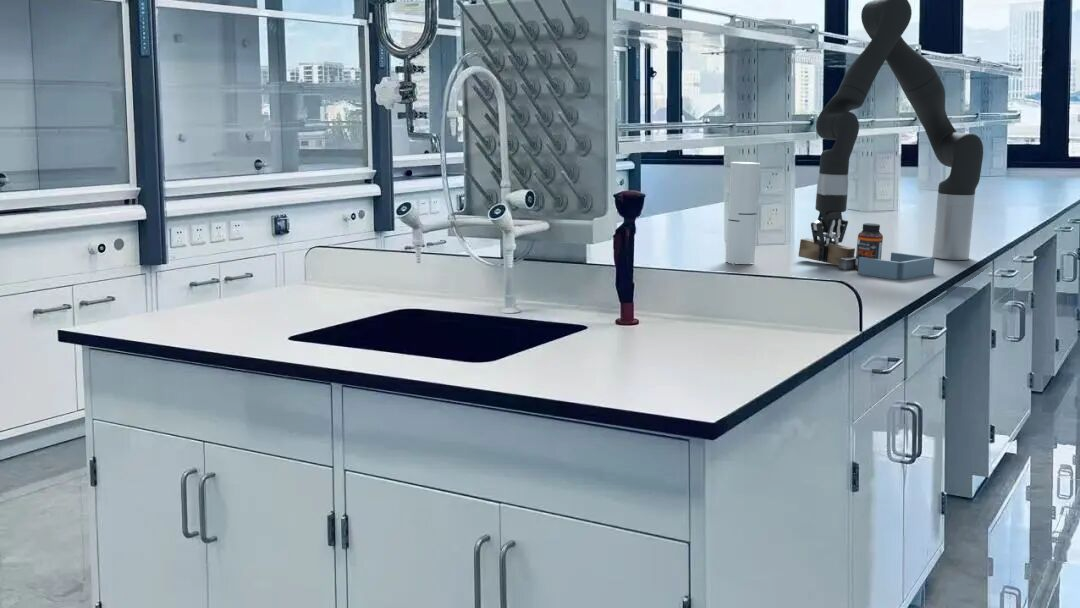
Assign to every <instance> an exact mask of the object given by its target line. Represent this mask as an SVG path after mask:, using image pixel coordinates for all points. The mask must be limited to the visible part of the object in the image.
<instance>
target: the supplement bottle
mask: <svg viewBox="0 0 1080 608" xmlns="http://www.w3.org/2000/svg"><path fill="white" fill-rule="evenodd" d="M880 226H881V224H877V223H869V222H868V223H865V222H864V223H862V230H861V231H860V232H858V234H857V241H856V253H855V256H856V263H855V268H854V269H856V270H858V268H859V257H865V258H872V259H880V260H882V250H883V238H884V236H883V234H882V233H881V232H880V230H881V229H880Z"/></svg>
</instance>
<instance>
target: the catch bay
mask: <svg viewBox="0 0 1080 608" xmlns="http://www.w3.org/2000/svg"><path fill="white" fill-rule="evenodd" d="M935 259H936V258H935V257H932V256H926V255H918V254H912V253H911V254H910V253H902V252H895V251H893V252H890V259H889V260H886V259H881V260H880V259H872V258H865V257H859V268H858V269H857V270H858V271H857V275H862V276H863V275H864V276H870V277H875V278H876V277H877V278H884V279H890V280H897V281H903V280H908V279H914V278H919V277H924V276H929V275H934V273H935V271H934V270H935Z"/></svg>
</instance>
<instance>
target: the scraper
mask: <svg viewBox="0 0 1080 608" xmlns="http://www.w3.org/2000/svg"><path fill="white" fill-rule="evenodd" d="M855 251H856V248H855V247H850V246H845V245H840V244H838V245H836V244H832V243H829V245H828V258H827V261H826V262H823V261H819V260H818V258H819V257H818V256H819V246H818V244H814V240H813V238H812V239H811V238H807V237H806V238H801V239H800V242H799V249H798V257H800V258H804V259H808V260H812V261H813V260H814V261H816V262H821V263H826V264H830V265H835V266H838V267H837V268H838V269H839V270H844V271H847V270H853V269H856V268H855V263H856V255H855Z"/></svg>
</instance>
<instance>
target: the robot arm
mask: <svg viewBox="0 0 1080 608" xmlns="http://www.w3.org/2000/svg"><path fill="white" fill-rule="evenodd" d="M912 11H913V10H912V6H911V4H910V2H909V0H869V1H868V2H867V3H865V4H864V6H863V7H862V9H861V13H860V15H861V24H862V27H863V29H864V30H865V33H867V35H868V37H869V38H870V39H871V40H870V41H869V43H868V44H867V46H866V47H865V48H864V50H862V52H861V53H859V55H858V57H857V58H856V59H854V61H853V62H852V64H851V65H850V66H849V68H848V69H847V70H846V72H845V73H844V76H843V79H842V81H841V82H840V84H839V88H838V90H837V91H836V93H835V94H834V95H833V96H832V98H830V100H828V102H827V104H826V105H825V106H824V108H822V110H821V111H820V113H819V115H818V116H817V120H816V124H815V129H816V133H817V134H818V136H819V138H821V139H824V140H829V141H831V140H832V141H835V142H834V144H833V146H832V148H830V149H825V150H823V151H822V152H821V154H820V157H819V158H820V159H819V170H818V171H819V173H818V179H817V183H816V185H817V186H816V193H815V194H816V196H815V210H816V211H818V212H819V213H818V217H817V220H816V221H815V222H811V223H810V229H811V234H812V240H814V244H818V246H819V256H818V257H819V258H818V260H819V261H818V262H821V261H823V262H822V263H825V262H826V261H827V258H828V245H829V243H832V244H836V245H839V244H840V243H841V244H842V242H843V240H844V237H845V234H846V230H847V229H848V224H849V221H848V220H845V219H843V215H842V213H844V212H846V211H847V207H848V206H847V205H848V192H849V170H850V169H849V168H850V167H849V166H850V158H851V154H852V152H853V150H854V146H855V143H856V141H857V138H858V135H859V131H860V122H859V119H858V117H857V116H856V114H855V113H854V112H850V111H854V110H856V109H857V110H858V109H859V108H861V107H862V106H863V105H864V103H865V101H866V98H867V96H868V94H869V93H870V92H869V91H871V88H872V85H873V84H874V81H875V80H876V78H877V76H878V73H879V71H880V69H881V68H882V66H883V65H884V63H885V62H886V63H887V64H888V66H889V68H890V69H891V71H892V73H893V75H894V76H895V78H896V80H897V82H898V84H899V86H900V88H901V90H902V92H903V94H904V95H905V97H906V99H907V100H908V102H909V103H910V105H911V107H912V109H913V110H914V112H915V114H916V116H917V118H918V120H919V122H920V124H921V125H922V128H923V129H924V132H925V134H926V136H927V138H928V141H929V143H930V146H931V148H932V150H933V153H934V155H935V157H936V159H937V160H938V162H940V163H941V165H943V166H945V167H948V168H951V169H950V173H949V176H948V177H947V178H946V179H944V180H942V181H941V182H939V183H938V188H937V189H938V190H937V199H936V212H935V222H934V233H933V244H932V245H933V246H932V256H931V257H935V259H940V260H941V259H942V260H948V261H949V260H952V261H964V260H965V261H966V260H969V259H970V251H971V239H972V229H973V217H974V210H975V209H974V207H975V197H976V188H977V187H978V185H979V182H980V180H981V179H980V178H981V173H982V166H983V158H984V145H983V142H982V139H981V137H979V136H978V135H977V134H976V133H975V134H974V133H970V132H958V131H957V130H956V128H955V127H954V126H953V124H952V123H951V120H950V119H949V117H948V115H947V111H946V89H945V86H944V83H943V81H942V79H941V78H940V75H939V74H938V72H937V71H936V69H935V67H934V65H932V63H931V62H930V61H929V60H928V59H926V57H924V56H923V55H922V54H920V53H919V52H918V51H917V50H915V49H914V48H913V47H911V46H910V45H909V44H908V43H907V42H906V41H905V40H904V38H903V37H902V36H903V34H904V32H905V30H906V29H907V28H908V26H909V24H910V22H911V19H912V15H913V14H912V13H913V12H912Z"/></svg>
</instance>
